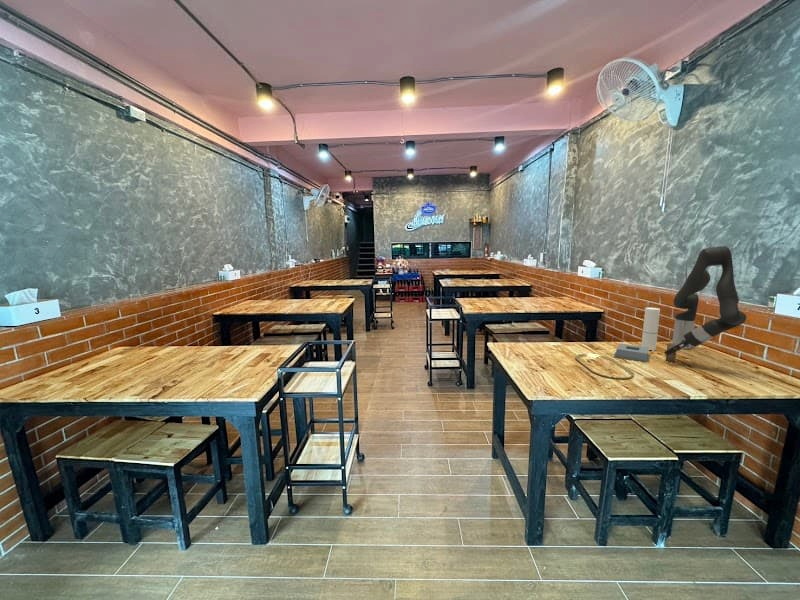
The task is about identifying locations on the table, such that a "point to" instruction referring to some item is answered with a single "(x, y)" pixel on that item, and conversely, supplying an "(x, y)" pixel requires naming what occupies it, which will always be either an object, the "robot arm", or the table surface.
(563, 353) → the table surface
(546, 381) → the table surface
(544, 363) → the table surface
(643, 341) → the tall white block
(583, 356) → the rubber band
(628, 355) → the socket block
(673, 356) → the walnut peg
